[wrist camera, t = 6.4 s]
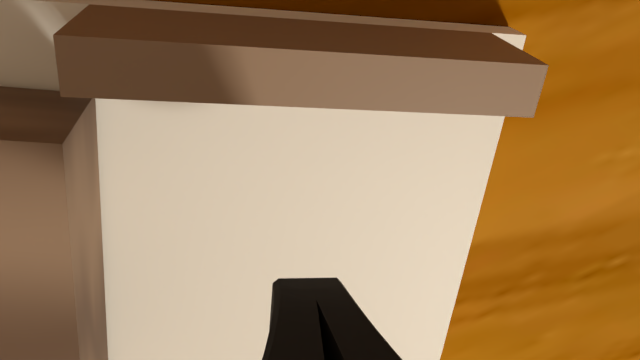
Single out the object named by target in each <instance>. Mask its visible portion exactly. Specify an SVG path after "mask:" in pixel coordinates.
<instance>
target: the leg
mask: <svg viewBox="0 0 640 360" xmlns="http://www.w3.org/2000/svg"><path fill="white" fill-rule="evenodd" d="M0 360H108V346H107V326H106V305H105V285H104V265H103V244H102V224H101V203H100V183H99V163H98V142H97V122H96V102H95V98H75V97H61V96H60V91H54V90H42V89H29V88H17V87H4V86H0Z"/></svg>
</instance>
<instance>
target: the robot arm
mask: <svg viewBox="0 0 640 360" xmlns="http://www.w3.org/2000/svg"><path fill="white" fill-rule="evenodd" d="M262 360H402V359H401V358H400V356H399V355H398V354H397V353H396V352H395V351H394V350H393V348H392V347H391V346H390V345H389V344H388V342H387V341H386V340H385V339H384V338H383V336H382V335H381V334H380V333H379V332H378V330H377V329H376V328H375V327H374V325H373V324H372V323H371V322H370V320H369V319H368V318H367V316H366V315H365V314H364V313H363V311H362V310H361V309H360V307H359V306H358V305H357V303H356V302H355V301H354V299H353V298H352V296H351V295H350V294H349V292H348V291H347V290H346V288H345V287H344V285H343V284H342V283H341V281H340V280H339V279H338V278H278V279H277V280H276V281H275V282H273V285H272V299H271V312H270V326H269V334H268V339H267V343H266V347H265V351H264V354H263V358H262Z"/></svg>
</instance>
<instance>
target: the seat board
mask: <svg viewBox="0 0 640 360" xmlns="http://www.w3.org/2000/svg"><path fill="white" fill-rule="evenodd" d="M525 39H526V35H525V34H523V33H521V32H519V31H517V30H515V29H513V28H511V27H504V26H490V25H477V24H463V23H449V22H436V21H422V20H409V19H395V18H381V17H368V16H354V15H341V14H327V13H313V12H300V11H286V10H273V9H259V8H245V7H232V6H218V5H205V4H191V3H177V2H164V1H150V0H0V86H4V87H17V88H29V89H42V90H54V91H60V96H61V97H75V98H95V102H96V122H97V142H98V163H99V183H100V203H101V224H102V244H103V265H104V285H105V305H106V326H107V346H108V360H262V358H263V354H264V351H265V347H266V343H267V339H268V334H269V326H270V312H271V299H272V285H273V282H275V281H276V280H277V279H278V278H338V279H339V280H340V281H341V283H342V284H343V285H344V287H345V288H346V290H347V291H348V292H349V294H350V295H351V296H352V298H353V299H354V301H355V302H356V303H357V305H358V306H359V307H360V309H361V310H362V311H363V313H364V314H365V315H366V316H367V318H368V319H369V320H370V322H371V323H372V324H373V325H374V327H375V328H376V329H377V330H378V332H379V333H380V334H381V335H382V336H383V338H384V339H385V340H386V341H387V342H388V344H389V345H390V346H391V347H392V348H393V350H394V351H395V352H396V353H397V354H398V355H399V356H400V358H401V359H402V360H440V357H441V353H442V349H443V345H444V342H445V338H446V334H447V331H448V327H449V323H450V319H451V316H452V312H453V308H454V304H455V301H456V297H457V293H458V289H459V286H460V282H461V278H462V274H463V271H464V267H465V263H466V259H467V256H468V252H469V248H470V244H471V241H472V237H473V233H474V229H475V226H476V222H477V218H478V215H479V211H480V207H481V203H482V200H483V196H484V192H485V188H486V185H487V181H488V177H489V173H490V170H491V166H492V162H493V158H494V155H495V151H496V147H497V143H498V140H499V136H500V132H501V128H502V125H503V121H504V117H505V116H509V117H532V118H533V117H534V114H535V110H536V107H537V104H538V100H539V97H540V93H541V90H542V86H543V83H544V80H545V76H546V73H547V69H548V66H549V65H547V64H545V63H544V62H542V61H540V60H538V59H537V58H535V57H533V56H531V55H529V54H528V53H526V52H524V51H522V50H523V46H524V42H525Z"/></svg>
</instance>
